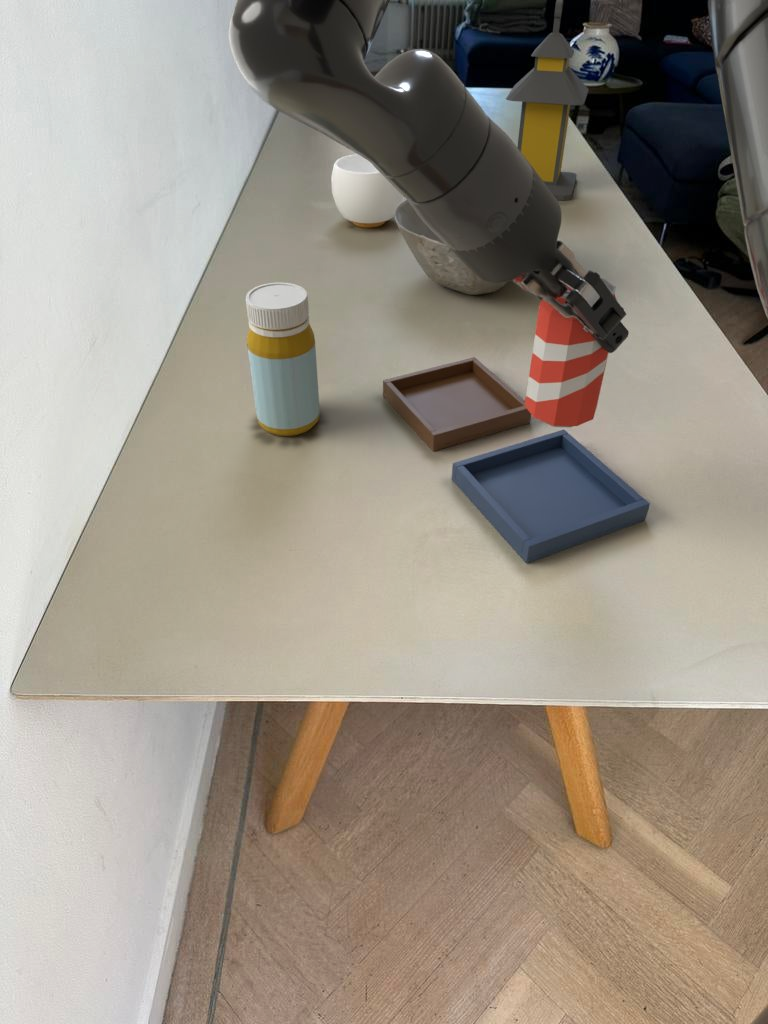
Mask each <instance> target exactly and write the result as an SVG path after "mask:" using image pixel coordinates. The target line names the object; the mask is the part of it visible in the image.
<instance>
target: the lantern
mask: <svg viewBox="0 0 768 1024" xmlns="http://www.w3.org/2000/svg"><path fill="white" fill-rule="evenodd" d="M554 6H555V7H554V14H553V18H554V19H553V27H552V32H550V33H549V34H547V36H545V38H544V39H543V41H541V43H540V44H538V46H537V47H536V48H535V49H534V51H533V52H532V53H531V55H530V56H531V57H533V58H534V57H535V59H534V67H533V68H532V69H530V71H528V72H527V73H526V74H525V75H524V76H523V77H522V78H520V79H519V81H518V82H516V83H515V84H514V85H513V87H512V89H511V90H510V92H509V93H508V94H507V96H506V98H505V100H506V101H509V102H521V109H520V110H521V111H520V120H519V129H518V139H517V148H518V149H519V150H520V152H521V153H522V154H523V156H524V157H525V158H526V160H527V161H528V162H529V163H530V165H531V166H532V167H533V169H534V170H535V171H536V172H537V174H538V175H539V176H540V178H541V179H542V180H543V182H544V183H545V184H546V186H547V187H548V188H549V189H550V191H551V192H552V193H553V195H554V196H555V197H556V199H557V200H558V202H560V201H562V202H564V201H565V202H566V201H570V200H571V199H572V195H573V192H574V189H575V184H576V181H577V174H576V173H574V172H571V171H562V168H563V167H562V166H563V161H564V160H563V159H564V151H565V144H566V138H567V131H568V125H569V119H570V109H571V106H582V105H585V102H586V99H587V96H588V93H589V88H588V87H587V85H585V84H584V82H583V81H582V80H581V79H580V78H579V76H578V75H577V74H576V73H575V71H573V70H572V68H571V67H570V66H569V63H570V59H572V58H573V57H574V54H575V50H574V49H573V47H572V45H571V44H570V43H569V41H568V40H567V39H566V38H565V36H564V35H563V33H560V27H561V19H562V13H563V7H564V0H555V5H554Z"/></svg>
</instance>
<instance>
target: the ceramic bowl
mask: <svg viewBox="0 0 768 1024" xmlns="http://www.w3.org/2000/svg"><path fill="white" fill-rule="evenodd" d="M394 221H395V222H396V225H397V228H398V230H399V232H400V234H401V236H402V237H403V239H404V241H405V243H406V245H407V247H408V248H409V250H410V252H411V253H412V255H413V257H414V259H415V260H416V262H417V263H418V265H419V266H420V268H421V269H422V270H423V272H424V273H425V275H426V276H427V277H428V278H429V279H430V280H431V281H433V282H434V283H435V284H437V285H440V286H442V287H444V288H448V289H450V290H454V291H455V292H459V293H463V294H466V295H470V296H471V295H472V296H477V295H484V294H492V293H494V292H497V291H499V290H500V289H502V288H503V287H504V286H506V285H507V283H509V281H507V282H502V283H491V282H487V281H484V280H482V279H480V278H479V277H478V276H476V275H475V274H474V273H473V272H472V271H471V270H470V269H469V268H468V267H467V266H466V265H465V264H464V263H463V262H462V261H461V260H460V259H459V258H458V257H457V256H456V255H455V254H454V252H453V251H452V250H451V249H450V248H449V247H448V246H447V245H446V244H445V243H444V242H443V241H442V240H441V239H440V238H439V237H438V236H437V235H436V234H435V233H434V232H433V231H432V230H431V229H430V228H429V227H428V226H427V225H426V224H425V223H424V222H423V221H422V219H421V218H420V217H419V216H418V214H417V213H416V211H415V210H414V208H413V207H412V206H411V204H410V203H409V202H408V201H407V199H405V200H404V201H402V202H401V204H400V205H399V206H398V208H397V210H396V212H395V215H394Z"/></svg>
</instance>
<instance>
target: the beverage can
mask: <svg viewBox="0 0 768 1024" xmlns="http://www.w3.org/2000/svg"><path fill="white" fill-rule="evenodd" d="M575 275H576V274H575ZM600 278H601V279H602V281H603V282H604V284H605V285H606V286H607V288H608V289H609V290H610V292H611V293H612V295H613V296H614V297H615V299H616V300H617V301H618V299H617V297H616V294H615V292H616V288H617V287H616V286H615V285H614V284H613V283H612V282H611V281H610V280H609V279H607V278H605V277H602V276H600ZM569 293H570V291H569V290H567V291H566V293H565V294H564V295H563V296H561V297H559V298H557V299H556V300H557V301H558V302H560V303H561V304H563V303H564V302H565V301H566V299H565V298H566V297H567V296H568V294H569ZM535 327H536V328H535V333H534V339H533V346H532V353H531V359H530V368H529V374H528V380H527V387H526V395H525V407H526V408H527V409H528V411H529V412H530V413H531V417H532V418H533V419H536V420H538V421H539V422H541V423H544V424H545V425H548V426H551V427H553V428H574V427H579V426H580V425H583V424H585V423H588V422H590V421H592V420H594V418H595V415H596V414H595V413H596V411H597V407H598V402H599V399H600V394H601V389H602V384H603V380H604V375H605V371H606V367H607V362H608V358H609V354H610V353H609V352H607V351H606V350H604V349H603V348H602V347H601V346H600V345H599V343H598V342H597V341H596V340H595V339H594V338H593V337H592V336H591V334H590V333H589V332H588V333H587V332H585V331H584V330H583V329H582V328H583V327H582V326H581V325H580V324H579V323H578V322H577V321H576V320H575V319H574V318H572V317H570V318H566V317H563V316H561V315H559V314H558V313H557V312H556V311H555V310H554V309H553V308H552V307H551V306H550V305H549V304H547V303H546V302H545V301H544V300H543V299H542V300H540V302H539V306H538V313H537V319H536V326H535Z"/></svg>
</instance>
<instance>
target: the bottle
mask: <svg viewBox="0 0 768 1024" xmlns="http://www.w3.org/2000/svg"><path fill="white" fill-rule="evenodd" d="M245 306H246V314H247V319H248V326H249V328H248V332H247V336H246V342H247V345H246V346H247V352H248V362H249V368H250V375H251V383H252V384H251V385H252V390H253V398H254V407H255V414H256V418H257V423H258V424H259V426H260V427H261V428H262V429H263V430H264V431H266V432H268V433H270V434H271V435H275V436H279V437H293V436H299V435H301V434H305V433H306V432H308V431H310V430H311V429H312V428H313V427H314V426H316V424H317V423H318V421H319V419H320V416H321V415H320V414H321V413H320V412H321V409H320V407H321V406H320V395H319V393H320V392H319V380H318V379H319V378H318V377H319V376H318V365H317V349H316V339H315V338H316V337H315V333H314V330H313V328H312V326H311V324H310V309H309V295H308V293H307V290H306V288H304V287H302V286H300V285H298V284H295V283H292V282H283V281H282V282H281V281H280V282H278V281H277V282H268V283H264V284H260V285H256V286H254V287H253V288H251V289H250V290H248V292H247V293H246V295H245Z"/></svg>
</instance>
